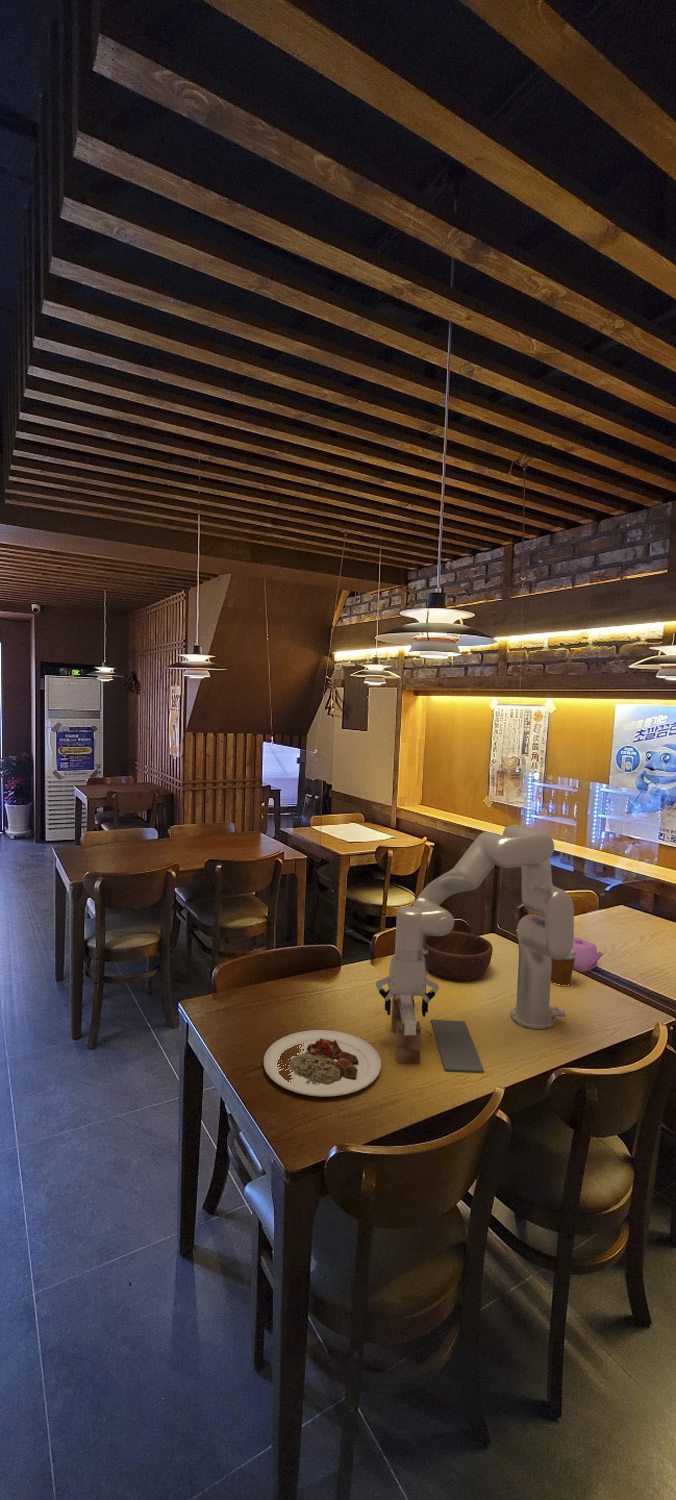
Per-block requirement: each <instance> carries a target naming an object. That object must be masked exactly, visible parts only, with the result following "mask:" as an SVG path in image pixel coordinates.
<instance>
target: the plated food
mask: <svg viewBox="0 0 676 1500" xmlns="http://www.w3.org/2000/svg"><path fill="white" fill-rule="evenodd" d="M303 1043H304V1044H303ZM298 1044H302V1047H301V1045H299V1048H300V1047H301V1048H300V1049H301V1052H300V1053H297V1055H299V1054H300V1055H299V1056H292V1057H291V1058H292V1059H291V1058H290V1059H291V1062H289V1063H290V1065H291V1066H290V1065H288V1066H290V1067H289V1068H288V1069H290V1070H289V1071H290V1072H291V1071H293V1072H291V1073H290V1074H288V1075H292V1076H291V1077H290V1078H293V1079H291V1080H289V1082H288V1081H287V1080H285V1079H284V1078H283V1077H282V1076H281V1075H280V1074H279V1071H281V1070H283V1069H284V1068H283V1069H279V1068H281V1067H277V1066H279V1065H280V1064H278V1065H277V1063H278V1060H279V1059H280V1056H281V1054H282V1053H283V1052H284V1051H285V1050H287V1049H289V1048H291V1047H293V1046H295V1045H298ZM303 1045H304V1046H303ZM297 1048H298V1047H297ZM302 1049H304V1051H303V1050H302ZM299 1051H300V1050H299ZM302 1053H303V1054H302ZM288 1060H289V1059H288ZM281 1061H282V1060H281ZM279 1062H280V1061H279ZM281 1064H282V1063H281ZM285 1065H286V1064H285ZM283 1066H284V1065H283ZM263 1067H264V1071H265V1073H266V1074H267V1076H268V1077H269V1078H270V1079H271V1080H272V1081H273V1082H274V1083H276V1084H277V1085H279V1086H280V1087H282V1088H284V1089H286V1090H288V1091H291V1092H294V1093H296V1094H299V1095H301V1094H302V1095H305V1096H311V1097H323V1098H324V1097H337V1096H345V1095H349V1094H352V1093H356V1092H358V1091H360V1090H362V1089H364V1088H366V1087H368V1086H370V1085H371V1084H372V1083H373V1082H375V1080H376V1079H377V1078H378V1076H379V1075H380V1072H381V1070H382V1059H381V1057H380V1055H379V1053H378V1051H377V1050H376V1049H375V1047H373V1046H372V1045H371V1044H370V1043H368V1042H367V1041H365V1040H363V1039H362V1038H360V1037H358V1036H356V1035H352V1034H349V1033H346V1032H341V1031H336V1030H329V1029H328V1030H325V1029H316V1030H315V1029H314V1030H313V1029H311V1030H306V1031H305V1030H303V1031H299V1032H298V1031H297V1032H294V1033H291V1034H289V1035H285V1036H283V1037H281V1038H279V1039H278V1040H276V1041H274V1042H273V1043H272V1044H271V1045H270V1046H269V1047H268V1049H267V1050H266V1052H265V1054H264V1056H263ZM278 1069H279V1070H278ZM288 1069H286V1070H288ZM286 1070H285V1071H286ZM290 1081H291V1082H290Z"/></svg>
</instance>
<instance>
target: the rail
mask: <svg viewBox="0 0 676 1500" xmlns="http://www.w3.org/2000/svg"><path fill="white" fill-rule="evenodd" d="M397 998H398V1004H399V1009H400V1015H401V1020H402V1026H403V1031H404V1035H415V1036H416V1022H418V1021H417V1017H416V1012H415V1006H414V1007H413V1003H412V999H411V996H410V995H397Z"/></svg>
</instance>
